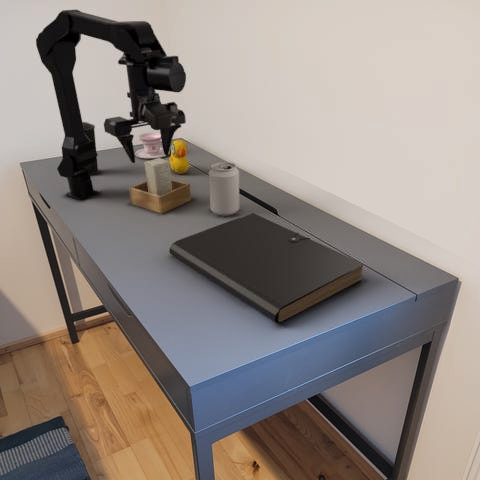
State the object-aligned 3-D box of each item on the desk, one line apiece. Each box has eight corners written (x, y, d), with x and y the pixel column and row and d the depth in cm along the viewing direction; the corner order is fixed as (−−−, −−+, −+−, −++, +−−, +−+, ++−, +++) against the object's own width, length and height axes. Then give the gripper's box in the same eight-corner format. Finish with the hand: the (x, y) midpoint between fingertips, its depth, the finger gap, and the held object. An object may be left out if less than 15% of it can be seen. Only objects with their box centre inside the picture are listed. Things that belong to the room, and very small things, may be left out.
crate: (131, 204, 129) (128, 187, 127) (160, 191, 137) (159, 175, 134) (162, 213, 124) (160, 197, 121) (191, 200, 131) (189, 184, 129)
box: (164, 197, 133) (160, 157, 127) (174, 201, 131) (170, 160, 124) (148, 202, 130) (143, 161, 124) (158, 206, 128) (153, 165, 121)
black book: (365, 262, 94) (275, 309, 81) (362, 280, 96) (274, 328, 84) (253, 211, 114) (168, 242, 102) (253, 227, 117) (170, 259, 104)
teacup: (140, 161, 159) (137, 142, 156) (131, 151, 168) (128, 133, 165) (174, 156, 164) (173, 137, 160) (164, 147, 172) (162, 129, 169)
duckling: (194, 177, 146) (192, 143, 140) (177, 179, 145) (174, 145, 139) (183, 166, 155) (181, 134, 149) (167, 168, 153) (164, 136, 147)
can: (236, 218, 121) (235, 170, 114) (207, 215, 123) (205, 169, 116) (241, 206, 127) (241, 161, 120) (214, 204, 128) (212, 159, 122)
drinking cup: (107, 171, 151) (96, 102, 139) (89, 178, 146) (76, 107, 134) (90, 167, 154) (78, 99, 143) (72, 173, 149) (57, 104, 138)
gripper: (122, 99, 97) (132, 175, 106) (197, 88, 107) (201, 158, 116) (97, 91, 104) (109, 163, 113) (169, 81, 113) (175, 148, 123)
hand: (150, 158), depth 116 cm, fingers open, 9 cm apart
